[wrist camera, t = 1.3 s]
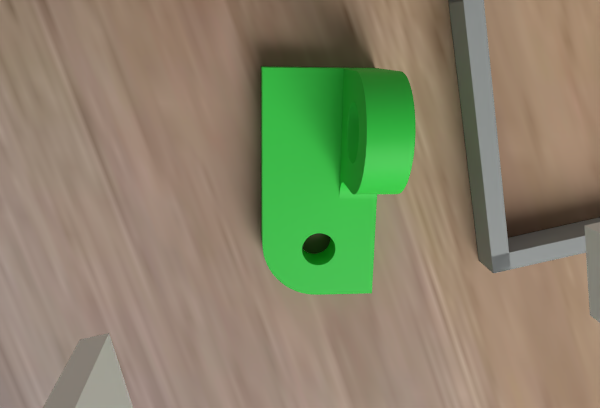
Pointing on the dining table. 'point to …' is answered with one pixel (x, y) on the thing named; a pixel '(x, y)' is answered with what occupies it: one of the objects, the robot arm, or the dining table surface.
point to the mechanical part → (330, 169)
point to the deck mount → (495, 156)
